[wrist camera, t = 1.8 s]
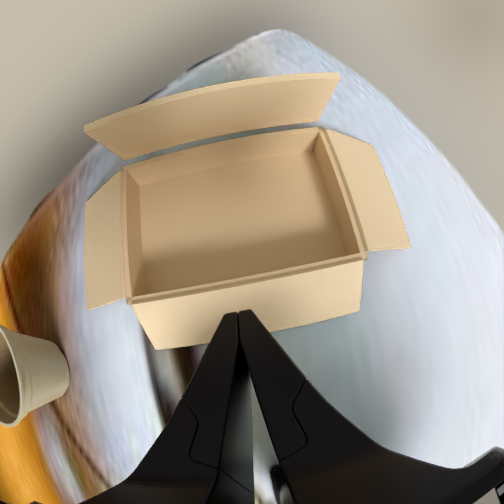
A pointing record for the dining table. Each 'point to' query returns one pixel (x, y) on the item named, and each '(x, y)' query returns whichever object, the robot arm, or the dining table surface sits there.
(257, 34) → the dining table surface
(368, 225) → the carton
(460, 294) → the dining table surface
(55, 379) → the flower pot
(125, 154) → the flap
